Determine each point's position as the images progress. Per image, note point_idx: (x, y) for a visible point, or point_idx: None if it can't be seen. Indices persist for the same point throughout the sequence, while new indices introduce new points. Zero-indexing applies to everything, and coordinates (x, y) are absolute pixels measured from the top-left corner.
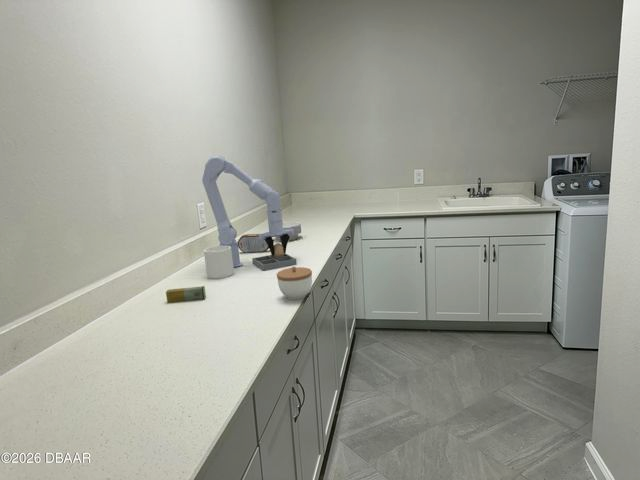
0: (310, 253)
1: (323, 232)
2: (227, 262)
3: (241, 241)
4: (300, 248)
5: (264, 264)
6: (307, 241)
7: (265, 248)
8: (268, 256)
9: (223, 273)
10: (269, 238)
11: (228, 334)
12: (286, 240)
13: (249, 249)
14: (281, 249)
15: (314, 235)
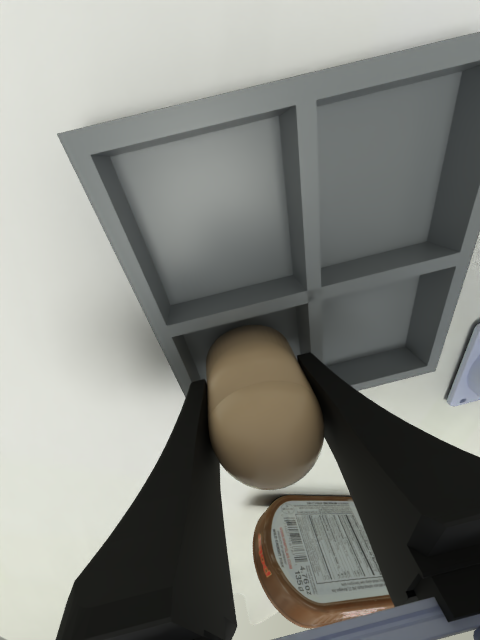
0: (10, 433)
1: (24, 628)
2: None
3: None
4: (101, 513)
5: (387, 252)
6: (77, 573)
7: (279, 515)
8: None
9: None
10: (473, 566)
11: None
12: (148, 522)
13: (344, 513)
14: (235, 389)
15: (57, 611)
